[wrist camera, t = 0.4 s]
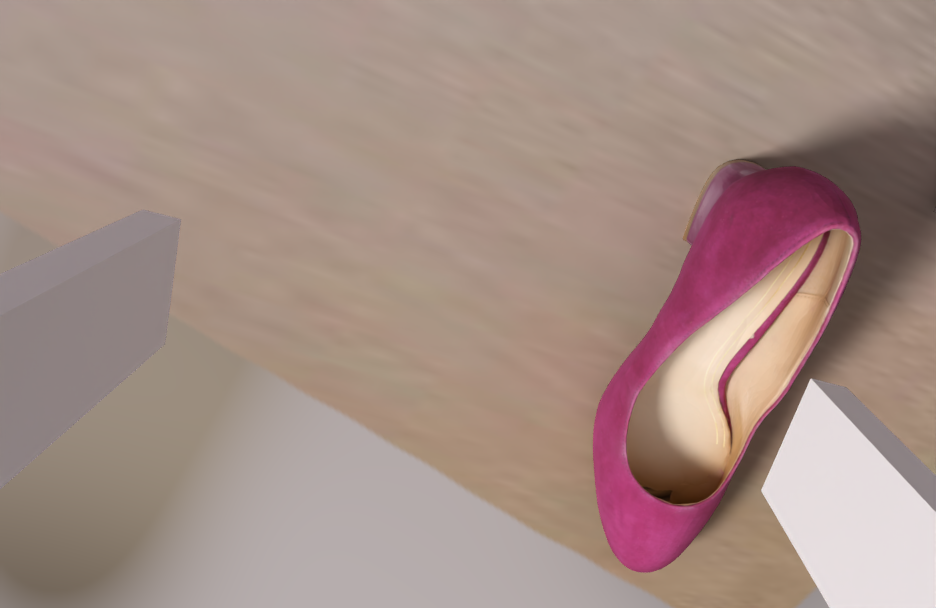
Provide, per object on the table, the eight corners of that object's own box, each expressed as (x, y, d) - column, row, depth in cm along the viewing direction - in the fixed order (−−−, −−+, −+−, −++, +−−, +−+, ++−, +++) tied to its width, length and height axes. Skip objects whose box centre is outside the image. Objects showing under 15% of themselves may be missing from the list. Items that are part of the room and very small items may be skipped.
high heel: (676, 557, 49) (730, 718, 37) (548, 522, 48) (563, 674, 37) (851, 176, 40) (992, 230, 29) (698, 130, 40) (779, 166, 28)
